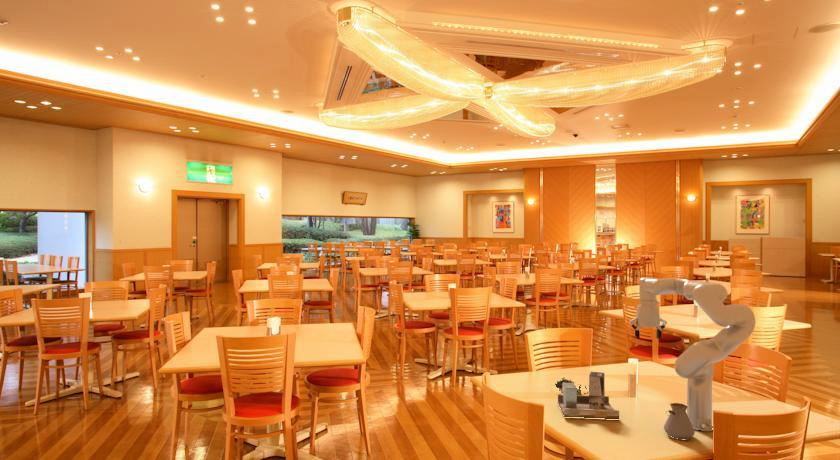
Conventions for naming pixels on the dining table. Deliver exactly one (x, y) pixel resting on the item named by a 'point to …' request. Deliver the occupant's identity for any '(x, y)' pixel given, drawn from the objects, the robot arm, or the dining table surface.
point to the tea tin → (569, 395)
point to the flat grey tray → (585, 411)
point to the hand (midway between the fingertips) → (648, 338)
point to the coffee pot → (679, 422)
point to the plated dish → (560, 385)
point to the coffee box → (596, 390)
